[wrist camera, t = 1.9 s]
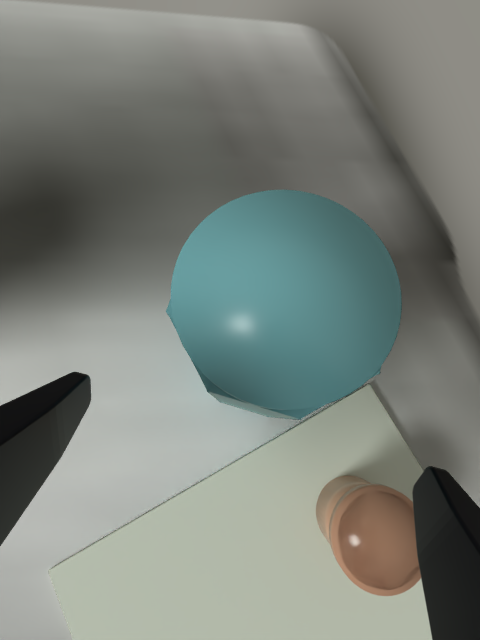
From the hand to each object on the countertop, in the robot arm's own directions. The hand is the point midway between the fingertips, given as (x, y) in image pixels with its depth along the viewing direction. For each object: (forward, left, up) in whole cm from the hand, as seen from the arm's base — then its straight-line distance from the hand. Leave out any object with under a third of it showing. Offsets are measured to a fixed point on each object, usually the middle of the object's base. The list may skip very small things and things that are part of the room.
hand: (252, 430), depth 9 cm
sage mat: (-2, -9, -11) cm, 14 cm away
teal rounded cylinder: (+3, +3, -11) cm, 12 cm away
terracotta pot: (+3, -7, -10) cm, 13 cm away
